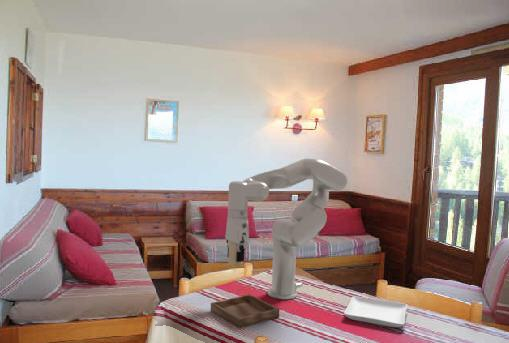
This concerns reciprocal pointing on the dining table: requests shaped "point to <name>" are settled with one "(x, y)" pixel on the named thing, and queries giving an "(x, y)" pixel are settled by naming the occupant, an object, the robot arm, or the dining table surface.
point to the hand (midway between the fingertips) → (235, 258)
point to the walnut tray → (244, 310)
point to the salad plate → (376, 311)
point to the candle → (233, 254)
